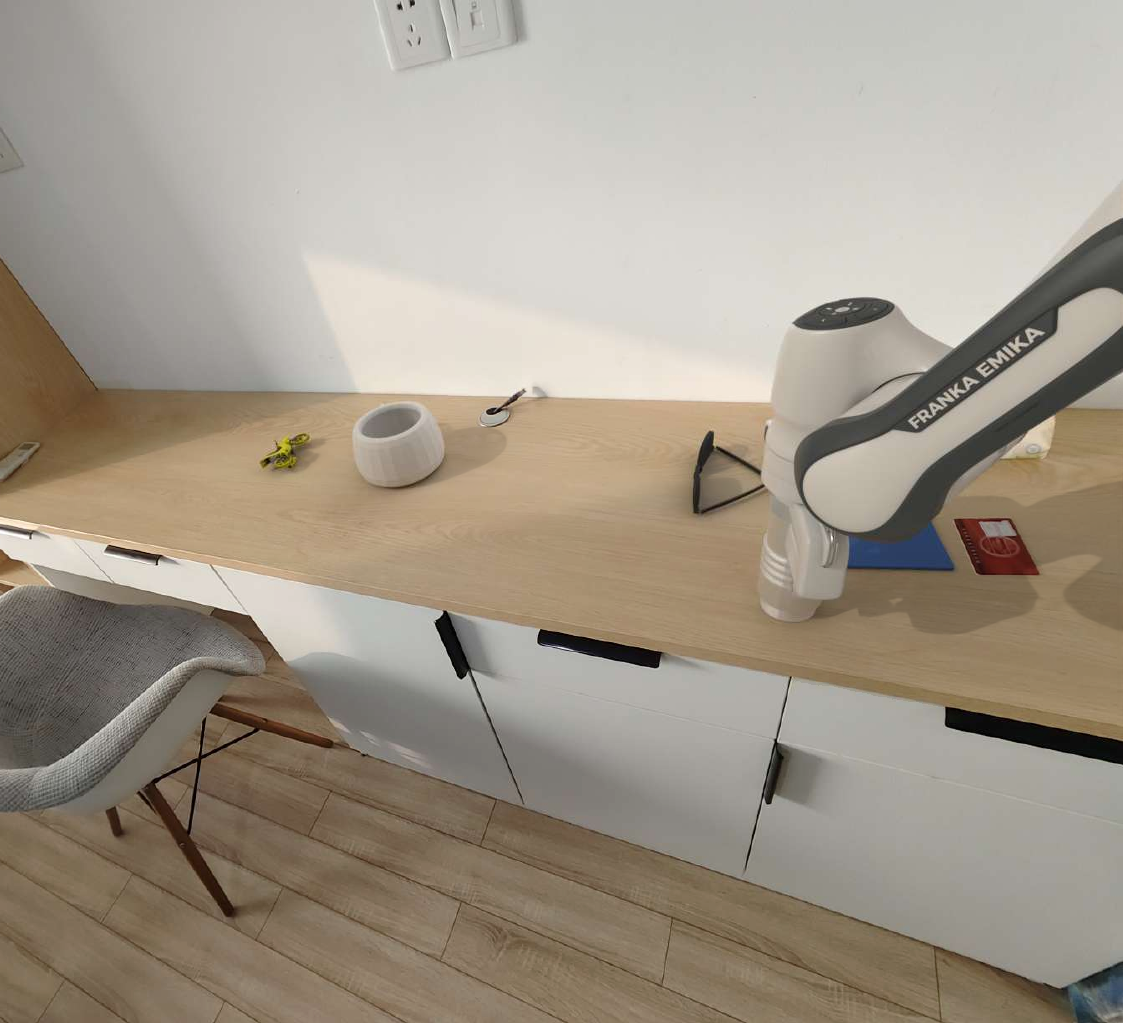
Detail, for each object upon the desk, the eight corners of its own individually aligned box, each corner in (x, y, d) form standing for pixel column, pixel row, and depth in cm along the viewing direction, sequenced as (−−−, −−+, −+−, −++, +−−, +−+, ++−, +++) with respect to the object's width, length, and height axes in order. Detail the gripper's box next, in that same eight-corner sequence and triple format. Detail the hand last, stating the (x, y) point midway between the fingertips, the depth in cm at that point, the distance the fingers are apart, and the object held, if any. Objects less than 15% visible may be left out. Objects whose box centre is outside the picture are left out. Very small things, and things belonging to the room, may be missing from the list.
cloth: (925, 514, 77) (926, 512, 77) (954, 570, 70) (955, 567, 70) (817, 514, 81) (818, 512, 81) (834, 567, 74) (834, 565, 74)
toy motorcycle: (284, 459, 118) (253, 461, 120) (291, 474, 120) (261, 476, 122) (308, 425, 126) (279, 428, 129) (315, 441, 129) (287, 443, 131)
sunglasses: (799, 528, 80) (805, 498, 77) (683, 514, 87) (684, 487, 84) (804, 455, 91) (809, 427, 88) (701, 448, 98) (702, 422, 95)
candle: (779, 573, 75) (796, 476, 66) (834, 604, 70) (860, 504, 61) (741, 601, 73) (753, 505, 64) (794, 635, 68) (815, 536, 59)
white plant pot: (458, 473, 108) (446, 425, 101) (368, 504, 106) (351, 457, 100) (430, 421, 125) (418, 377, 118) (352, 446, 123) (336, 403, 117)
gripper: (880, 536, 51) (848, 640, 59) (827, 409, 66) (808, 507, 74) (794, 536, 53) (776, 636, 61) (762, 412, 68) (751, 507, 76)
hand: (793, 564), depth 68 cm, fingers open, 7 cm apart
